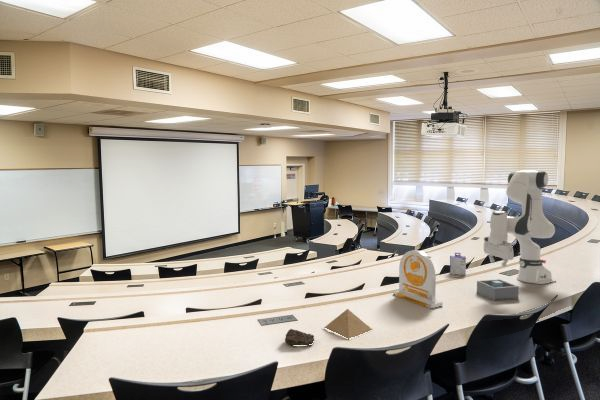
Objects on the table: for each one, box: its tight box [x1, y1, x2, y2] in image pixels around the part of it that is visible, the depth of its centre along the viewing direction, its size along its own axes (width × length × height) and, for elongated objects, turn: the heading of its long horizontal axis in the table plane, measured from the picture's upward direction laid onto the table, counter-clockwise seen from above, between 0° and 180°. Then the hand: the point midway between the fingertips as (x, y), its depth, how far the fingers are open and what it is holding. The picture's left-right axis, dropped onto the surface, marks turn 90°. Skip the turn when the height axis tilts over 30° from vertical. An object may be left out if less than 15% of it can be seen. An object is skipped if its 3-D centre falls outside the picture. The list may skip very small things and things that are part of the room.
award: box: [393, 249, 444, 309], centre depth 216 cm, size 28×9×28 cm, turn 29°
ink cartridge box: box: [449, 252, 467, 276], centre depth 271 cm, size 10×6×14 cm, turn 78°
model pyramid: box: [323, 308, 373, 339], centre depth 177 cm, size 17×17×10 cm
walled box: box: [476, 278, 520, 302], centre depth 223 cm, size 15×15×7 cm
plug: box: [492, 281, 503, 288], centre depth 223 cm, size 4×4×7 cm
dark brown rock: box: [284, 328, 315, 346], centre depth 163 cm, size 12×10×5 cm
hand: (497, 264), depth 222 cm, fingers open, 8 cm apart
